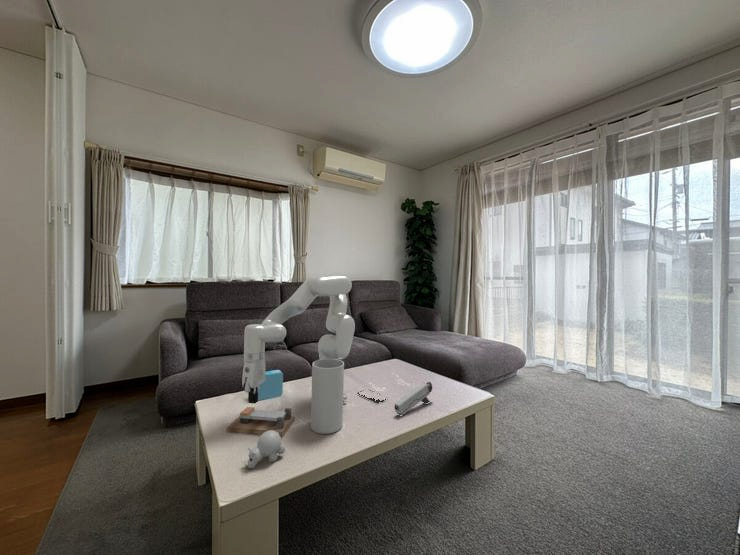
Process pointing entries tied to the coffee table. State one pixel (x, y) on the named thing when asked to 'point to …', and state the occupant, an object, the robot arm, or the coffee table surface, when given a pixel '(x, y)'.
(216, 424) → the coffee table surface
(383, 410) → the coffee table surface
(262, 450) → the chubby cartoon animal
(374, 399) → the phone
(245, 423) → the latch base
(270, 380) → the blue rounded block
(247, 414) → the latch lever
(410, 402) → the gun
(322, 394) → the cylinder vase
